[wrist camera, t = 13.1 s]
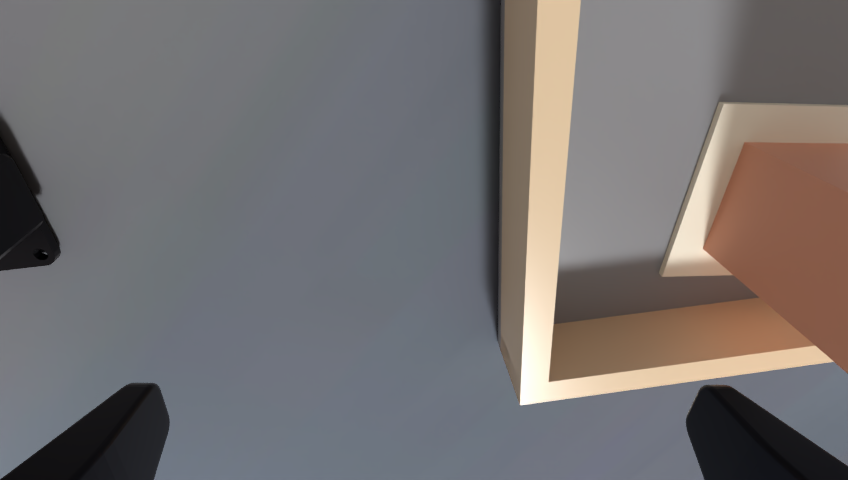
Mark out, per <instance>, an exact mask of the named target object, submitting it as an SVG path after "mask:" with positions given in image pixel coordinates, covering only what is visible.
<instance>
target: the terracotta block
mask: <svg viewBox="0 0 848 480" xmlns="http://www.w3.org/2000/svg"><path fill="white" fill-rule="evenodd" d="M703 249H704V250H705V251H706V252H707V253H708V254H709V255H711V256H712V257H713V258H714V259H715V260H716V261H718V262H719V263H720V264H721V265H722V266H723V267H724V268H726V269H727V270H728V271H729V272H730V273H731V274H733V275H734V276H735V277H736V278H737V279H738V280H740V281H741V282H742V283H743V284H744V285H745V286H747V287H748V288H749V289H750V290H751V291H752V292H754V293H755V294H756V295H757V296H758V297H759V298H761V299H762V300H763V301H764V302H765V303H766V304H768V305H769V306H770V307H771V308H772V309H773V310H774V311H776V312H777V313H778V314H779V315H780V316H781V317H783V318H784V319H785V320H786V321H787V322H788V323H790V324H791V325H792V326H793V327H794V328H795V329H797V330H798V331H799V332H800V333H801V334H802V335H804V336H805V337H806V338H807V339H808V340H809V341H811V342H812V343H813V344H814V345H815V346H816V347H817V348H819V349H820V350H821V351H822V352H823V353H824V354H826V355H827V356H828V357H829V358H830V359H831V360H833V361H834V362H835V363H836V364H837V365H838V366H840V367H841V368H842V369H843V370H844V371H845V372H847V373H848V143H766V142H744V145H743V147H742V150H741V153H740V155H739V158H738V160H737V163H736V165H735V168H734V170H733V173H732V175H731V178H730V181H729V183H728V186H727V188H726V191H725V193H724V196H723V198H722V201H721V204H720V206H719V209H718V211H717V214H716V216H715V219H714V221H713V224H712V226H711V229H710V232H709V234H708V237H707V239H706V242H705V244H704V247H703Z"/></svg>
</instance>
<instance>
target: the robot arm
mask: <svg viewBox="0 0 848 480" xmlns="http://www.w3.org/2000/svg"><path fill="white" fill-rule="evenodd" d="M39 249H42V250H44V251H45V252H46V253H47V254H48V255H46V254H44V253H42V252H41V251H40V250H39ZM60 253H61V251H60V248H59V246H58V244H57V242H56V240H55V238H54V237H53V235H52V233H51V231H50V229H49V227H48V225H47V223H46V222H45V220H44V216H43V214H42V213H41V211H40V209H39V207H38V205H37V203H36V201H35V199H34V198H33V196H32V194H31V192H30V190H29V188H28V186H27V184H26V183H25V181H24V179H23V177H22V175H21V173H20V171H19V170H18V168H17V166H16V164H15V162H14V160H13V159H12V158H11V156H10V154H9V153H8V151H7V149H6V147H5V145H4V143H3V141H2V139H1V138H0V271H2V270H11V269H19V268H28V267H37V266H45V265H49V264H52V263H53V262H54V261H55V260H56V259H57V258H58V257H59V256H60ZM169 423H170V421H169V415H168V412H167V408H166V405H165V402H164V399H163V396H162V393H161V390H160V388H159V386H158V385H157V384H155V383H130V384H128V385H126V386H124V387H123V388H121V389H120V390H119V391H117V392H116V393H115V394H113V395H112V396H111V397H109V398H108V399H107V400H105V401H104V402H103V403H101V404H100V405H99V406H97V407H96V408H95V409H93V410H92V411H91V412H89V413H88V414H87V415H85V416H84V417H83V418H81V419H80V420H79V421H77V422H76V423H75V424H73V425H72V426H71V427H69V428H68V429H67V430H65V431H64V432H63V433H61V434H60V435H59V436H57V437H56V438H55V439H53V440H52V441H51V442H49V443H48V444H47V445H45V446H44V447H43V448H41V449H40V450H39V451H37V452H36V453H35V454H33V455H32V456H31V457H30V458H28V459H27V460H26V461H24V462H23V463H22V464H20V465H19V466H18V467H16V468H15V469H14V470H12V471H11V472H10V473H8V474H7V475H6V476H4V477H3V478H2V479H0V480H154V477H155V474H156V471H157V467H158V464H159V461H160V457H161V454H162V451H163V448H164V444H165V441H166V438H167V435H168V431H169ZM686 427H687V432H688V435H689V438H690V440H691V443H692V446H693V449H694V452H695V454H696V457H697V460H698V463H699V466H700V468H701V471H702V474H703V477H704V480H848V466H847V465H845V464H844V463H842V462H841V461H840V460H838V459H837V458H835V457H834V456H832V455H831V454H829V453H828V452H826V451H825V450H823V449H822V448H820V447H819V446H818V445H816V444H815V443H813V442H812V441H810V440H809V439H807V438H806V437H804V436H803V435H801V434H800V433H798V432H797V431H796V430H794V429H793V428H791V427H790V426H788V425H787V424H785V423H784V422H782V421H781V420H779V419H778V418H776V417H775V416H774V415H772V414H771V413H769V412H768V411H766V410H765V409H763V408H762V407H760V406H759V405H757V404H756V403H754V402H753V401H752V400H750V399H749V398H747V397H746V396H744V395H743V394H741V393H740V392H738V391H737V390H735V389H734V388H732V387H730V386H727V385H704V386H703V387H701V388H700V390H699V391H698V394H697V396H696V398H695V400H694V402H693V404H692V406H691V408H690V410H689V412H688V415H687V418H686Z"/></svg>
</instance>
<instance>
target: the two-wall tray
mask: <svg viewBox="0 0 848 480" xmlns="http://www.w3.org/2000/svg"><path fill="white" fill-rule="evenodd" d="M744 142H766V143H848V0H501V63H500V174H499V285H498V344H499V347H500V350H501V353H502V355H503V358H504V361H505V364H506V367H507V370H508V373H509V375H510V378H511V381H512V384H513V387H514V390H515V393H516V395H517V398H518V401H519V404H520V405H526V404H533V403H540V402H547V401H554V400H562V399H569V398H576V397H583V396H590V395H598V394H605V393H612V392H619V391H626V390H633V389H641V388H648V387H655V386H662V385H669V384H677V383H684V382H691V381H698V380H705V379H712V378H720V377H727V376H734V375H741V374H748V373H756V372H763V371H770V370H777V369H784V368H791V367H799V366H806V365H813V364H820V363H827V362H834V361H833V360H831V359H830V358H829V357H828V356H827V355H826V354H824V353H823V352H822V351H821V350H820V349H819V348H817V347H816V346H815V345H814V344H813V343H812V342H811V341H809V340H808V339H807V338H806V337H805V336H804V335H802V334H801V333H800V332H799V331H798V330H797V329H795V328H794V327H793V326H792V325H791V324H790V323H788V322H787V321H786V320H785V319H784V318H783V317H781V316H780V315H779V314H778V313H777V312H776V311H774V310H773V309H772V308H771V307H770V306H769V305H768V304H766V303H765V302H764V301H763V300H762V299H761V298H759V297H758V296H757V295H756V294H755V293H754V292H752V291H751V290H750V289H749V288H748V287H747V286H745V285H744V284H743V283H742V282H741V281H740V280H738V279H737V278H736V277H735V276H734V275H733V274H731V273H730V272H729V271H728V270H727V269H726V268H724V267H723V266H722V265H721V264H720V263H719V262H718V261H716V260H715V259H714V258H713V257H712V256H711V255H709V254H708V253H707V252H706V251H705V250H704V249H703V247H704V244H705V242H706V239H707V237H708V234H709V232H710V229H711V226H712V224H713V221H714V219H715V216H716V214H717V211H718V209H719V206H720V204H721V201H722V198H723V196H724V193H725V191H726V188H727V186H728V183H729V181H730V178H731V175H732V173H733V170H734V168H735V165H736V163H737V160H738V158H739V155H740V153H741V150H742V147H743V145H744Z"/></svg>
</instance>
